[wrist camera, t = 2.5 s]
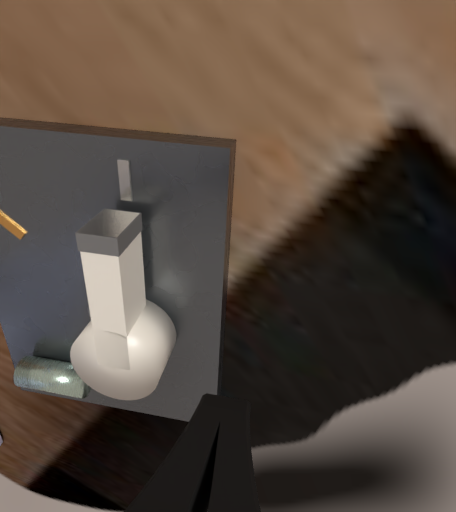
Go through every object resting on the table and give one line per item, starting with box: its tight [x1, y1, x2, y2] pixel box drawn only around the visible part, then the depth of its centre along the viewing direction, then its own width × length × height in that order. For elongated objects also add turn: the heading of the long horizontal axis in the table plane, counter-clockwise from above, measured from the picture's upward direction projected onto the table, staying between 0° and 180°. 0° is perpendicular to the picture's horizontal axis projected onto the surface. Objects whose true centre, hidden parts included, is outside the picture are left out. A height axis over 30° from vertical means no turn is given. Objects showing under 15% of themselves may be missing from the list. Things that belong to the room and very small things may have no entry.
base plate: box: [0, 118, 236, 422], centre depth 20 cm, size 17×13×3 cm
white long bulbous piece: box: [70, 208, 176, 400], centre depth 18 cm, size 9×4×3 cm, turn 177°
